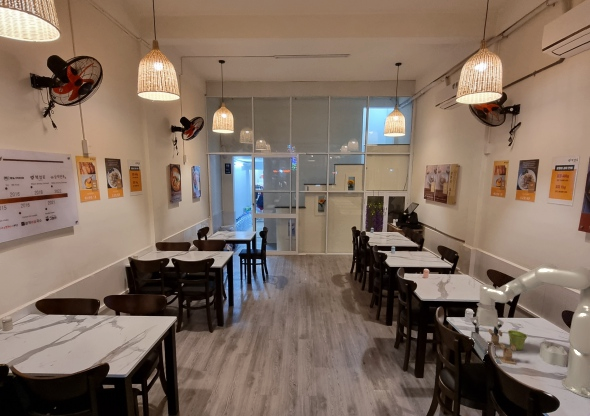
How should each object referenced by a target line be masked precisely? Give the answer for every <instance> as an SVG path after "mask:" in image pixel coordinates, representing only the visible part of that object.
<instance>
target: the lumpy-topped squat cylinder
mask: <svg viewBox="0 0 590 416" xmlns="http://www.w3.org/2000/svg"><path fill="white" fill-rule="evenodd" d="M539 345H540V346H539V357H540V358H541V360H542V361H543V362H545V363H547V364H549V365H552V366H557V367H562V368H566V367H567V364H568V362H567V361H568V353H567V351H566V350H565V348H564V347H563V346H562V345H558V344H557V343H555V342H551V341H542V342H540V343H539Z"/></svg>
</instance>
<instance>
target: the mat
mask: <svg viewBox="0 0 590 416" xmlns="http://www.w3.org/2000/svg"><path fill="white" fill-rule="evenodd" d="M473 348H474V350H475V352H476V353H477V354H478V356H479V358H480V359H481V360H482V361H483V359H484V353H483V352H482V351H481V349H480V348H479V347H478V345H477V344H476V342H475V346H474V347H473ZM495 359H496V362H497V363H496V364H502V361H501V360H500V358H499V357H498V356H497V355H496V357H495Z"/></svg>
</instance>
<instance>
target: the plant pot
mask: <svg viewBox="0 0 590 416" xmlns="http://www.w3.org/2000/svg"><path fill="white" fill-rule="evenodd" d="M507 334H508V337H509V346H510V347H511V345H512V344H513V345H514V346H515V347H516V351H517V350H518V351H521V350H524V346H525V345H524V344H525V342H526V339H527V338H528V336H527V334H526V333H523V332H522V331H519V330H514V329H513V330H512V329H510V330H507Z"/></svg>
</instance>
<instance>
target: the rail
mask: <svg viewBox="0 0 590 416" xmlns="http://www.w3.org/2000/svg"><path fill="white" fill-rule="evenodd" d="M470 334H471V335H470V338H473V339H474V341H475V342H476V344H477V345H478V347H479V348H480V349H481V351H482V352H483V353H484V355H485V354H486V353H487V351H488V346H489V344H488V343H487V341H486V340H485V339H484V338H483V337H482V336H481V334H480V333H479V334H477V333H476V332H475V331H473V330H472V331H471V333H470Z"/></svg>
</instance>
